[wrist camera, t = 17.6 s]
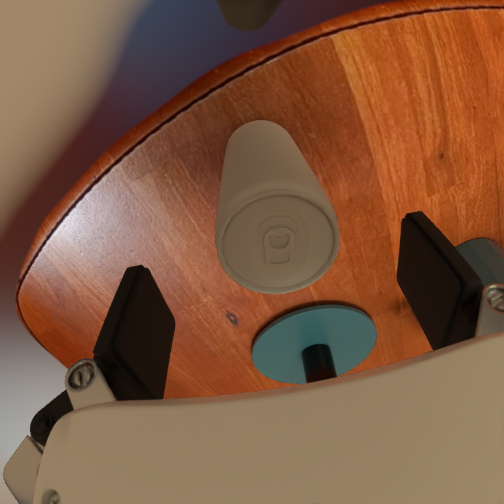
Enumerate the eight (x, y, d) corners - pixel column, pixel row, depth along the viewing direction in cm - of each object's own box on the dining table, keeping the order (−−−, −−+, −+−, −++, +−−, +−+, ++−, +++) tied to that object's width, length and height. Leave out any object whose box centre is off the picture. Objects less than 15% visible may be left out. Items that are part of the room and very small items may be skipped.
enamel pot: (401, 255, 27) (445, 330, 19) (524, 225, 25) (570, 275, 17) (387, 340, 35) (410, 404, 27) (496, 304, 33) (526, 352, 25)
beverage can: (292, 116, 19) (348, 183, 10) (295, 179, 22) (338, 290, 12) (222, 121, 19) (202, 195, 10) (230, 184, 22) (223, 301, 13)
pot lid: (238, 314, 30) (238, 364, 26) (379, 287, 29) (399, 331, 24) (263, 383, 39) (266, 422, 34) (368, 363, 37) (379, 400, 33)
